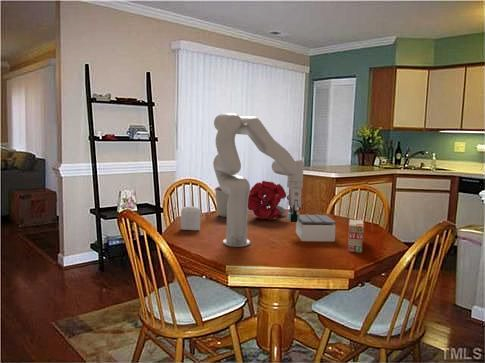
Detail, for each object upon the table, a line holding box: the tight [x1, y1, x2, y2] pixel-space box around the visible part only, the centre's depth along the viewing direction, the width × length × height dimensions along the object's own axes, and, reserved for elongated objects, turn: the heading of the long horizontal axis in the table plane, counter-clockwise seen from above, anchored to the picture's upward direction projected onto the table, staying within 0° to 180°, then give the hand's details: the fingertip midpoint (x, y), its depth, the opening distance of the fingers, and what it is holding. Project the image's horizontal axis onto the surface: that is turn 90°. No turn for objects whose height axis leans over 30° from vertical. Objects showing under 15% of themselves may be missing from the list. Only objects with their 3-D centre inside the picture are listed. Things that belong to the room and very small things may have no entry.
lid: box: [286, 212, 337, 225], centre depth 204 cm, size 22×16×3 cm
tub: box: [295, 220, 337, 242], centre depth 205 cm, size 16×16×8 cm
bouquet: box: [248, 180, 287, 220], centre depth 247 cm, size 22×24×30 cm
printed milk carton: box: [347, 218, 365, 254], centre depth 191 cm, size 21×6×12 cm, turn 165°
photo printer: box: [180, 205, 201, 232], centre depth 214 cm, size 10×4×12 cm, turn 84°
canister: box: [214, 186, 229, 218], centre depth 250 cm, size 18×18×21 cm
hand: (293, 220), depth 204 cm, fingers closed on lid, 3 cm apart
